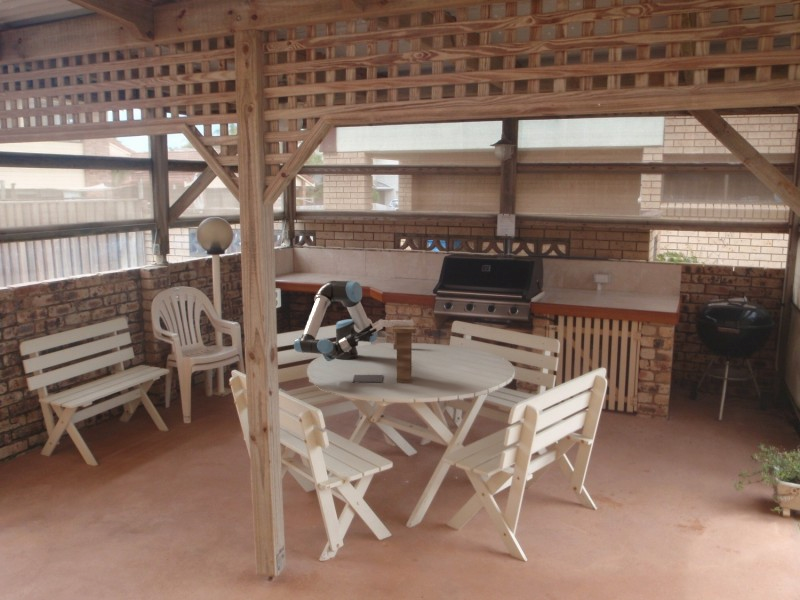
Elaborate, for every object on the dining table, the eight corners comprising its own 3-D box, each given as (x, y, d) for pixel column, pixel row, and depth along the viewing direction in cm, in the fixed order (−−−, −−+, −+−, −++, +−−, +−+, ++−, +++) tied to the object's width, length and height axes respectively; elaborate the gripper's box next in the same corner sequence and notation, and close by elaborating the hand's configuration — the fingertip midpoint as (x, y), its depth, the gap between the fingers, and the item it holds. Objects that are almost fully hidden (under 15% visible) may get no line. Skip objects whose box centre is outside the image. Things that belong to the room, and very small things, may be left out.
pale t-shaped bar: (378, 324, 379) (378, 319, 379) (413, 325, 379) (413, 319, 379) (378, 327, 373) (378, 321, 373) (413, 327, 373) (413, 321, 373)
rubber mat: (354, 375, 388) (354, 374, 388) (382, 375, 388) (382, 374, 388) (352, 382, 374) (352, 381, 374) (381, 382, 374) (381, 381, 374)
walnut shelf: (393, 375, 389) (393, 323, 384) (414, 375, 389) (415, 323, 384) (392, 383, 373) (392, 328, 368) (415, 383, 373) (415, 329, 368)
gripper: (354, 343, 391) (386, 324, 389) (350, 353, 366) (384, 334, 364) (347, 332, 390) (379, 313, 388) (343, 341, 365) (377, 322, 363)
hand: (382, 323), depth 376 cm, fingers open, 13 cm apart
